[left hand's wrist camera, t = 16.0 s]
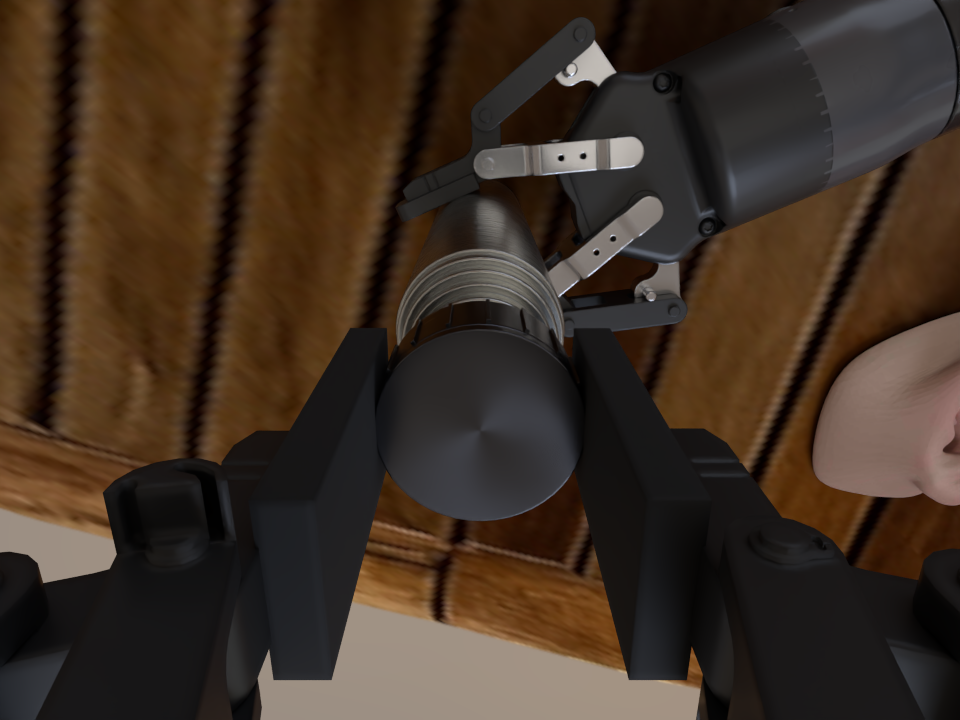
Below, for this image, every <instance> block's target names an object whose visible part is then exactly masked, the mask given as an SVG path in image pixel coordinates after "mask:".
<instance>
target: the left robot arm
mask: <svg viewBox="0 0 960 720" xmlns="http://www.w3.org/2000/svg"><path fill="white" fill-rule="evenodd" d="M572 360H573V363H574V366H575V368H576V371H577V374H578V376H579V379H580V382H581V384H582V385H581V386H579V389H580V392H581V395H582V398H583V401H584V404H585V430H584V445H583V452H582V455H581V457H580V459H579V462H578V464H577V466H576V468H575V469H574V471H575V474H576V478H577V482H578V486H579V490H580V494H581V498H582V501H583V505H584V509H585V513H586V517H587V521H588V524H589V528H590V532H591V536H592V540H593V544H594V548H595V551H596V555H597V559H598V563H599V567H600V571H601V574H602V578H603V582H604V586H605V590H606V594H607V597H608V601H609V605H610V609H611V613H612V617H613V621H614V624H615V628H616V632H617V636H618V640H619V644H620V647H621V651H622V655H623V659H624V663H625V667H626V671H627V674H628V678H629V680H687V675H688V668H689V661H690V654H691V647H692V648H693V650H694V653H695V655H696V658H697V660H698V663H699V666H700V668H701V671H702V673H703V678H702V685H701V691H700V698H699V704H698V711H697V717H696V720H960V549H947V550H941V551H936V552H933V553H932V554H931V555H929V556H928V557H927V558H926V559H925V560H924V562H923V565H922V569H921V572H920V576H919V579H918V580H914V579H909V578H903V577H898V576H893V575H888V574H883V573H878V572H873V571H868V570H864V569H860V568H856V567H852V566H849V564H848V562H847V560H846V558H845V556H844V554H843V553H842V551H841V550H840V549H839V548H838V547H837V545H836V544H835V543H834V542H833V540H831V539H830V538H828V537H827V536H825V535H824V534H822V533H821V532H819V531H818V530H816V529H815V528H812V527H810V526H807V525H805V524H802V523H800V522H797V521H795V520H791V519H786V518H782V517H781V516H780V514H779V513H778V512H777V510H776V509H775V508H774V506H773V505H772V504H771V502H770V501H769V499H768V498H767V497H766V495H765V494H764V493H763V491H762V490H761V489H760V487H759V486H758V485H757V483H756V482H755V480H754V479H753V478H752V477H750V476H749V475H750V474H749V472H748V471H747V470H746V468H745V467H744V466H743V464H742V463H739V459H738V457H737V456H736V455H735V453H734V452H733V451H732V449H731V448H730V447H729V445H728V444H727V443H726V442H724V441H723V440H721V439H720V438H718V437H716V436H715V435H713V434H712V433H710V432H708V431H707V430H705V429H670V428H669V427H668V425H667V423H666V422H665V420H664V418H663V417H662V415H661V413H660V412H659V410H658V408H657V407H656V405H655V403H654V401H653V400H652V398H651V396H650V395H649V393H648V391H647V390H646V388H645V386H644V385H643V383H642V381H641V380H640V378H639V376H638V374H637V373H636V371H635V369H634V368H633V366H632V364H631V363H630V361H629V359H628V358H627V356H626V354H625V353H624V351H623V349H622V347H621V346H620V344H619V342H618V341H617V339H616V337H615V336H614V334H613V332H612V331H611V329H610V328H574V333H573V353H572ZM387 365H388V345H387V328H350V330H349V331H348V333H347V335H346V336H345V338H344V340H343V341H342V343H341V345H340V347H339V348H338V350H337V352H336V353H335V355H334V357H333V358H332V360H331V362H330V363H329V365H328V367H327V368H326V370H325V372H324V374H323V375H322V377H321V379H320V380H319V382H318V384H317V385H316V387H315V389H314V390H313V392H312V394H311V395H310V397H309V399H308V401H307V402H306V404H305V406H304V407H303V409H302V411H301V412H300V414H299V416H298V417H297V419H296V421H295V423H294V424H293V426H292V428H291V429H290V431H256V432H254V433H253V434H251V435H249V436H248V437H246V438H245V439H243V440H242V441H240V442H238V443H237V444H235V445H234V446H233V447H232V449H231V450H230V451H229V453H228V454H227V455H226V457H225V458H224V460H223V461H222V465H221V466H220V465H219V464H217V463H216V462H212V461H208V460H204V459H173V460H168V461H162V462H156V463H153V464H150V465H147V466H144V467H141V468H138V469H135V470H133V471H131V472H129V473H127V474H126V475H124V476H122V477H120V478H118V479H117V480H115V481H114V482H113V483H112V484H111V485H110V486H109V487H108V488H107V489H106V490H105V491H104V492H103V496H104V500H105V504H106V509H107V513H108V518H109V522H110V526H111V531H112V535H113V539H114V544H115V548H116V553H117V555H116V557H115V559H114V561H113V563H112V565H111V568H110V569H108V570H105V571H101V572H97V573H93V574H88V575H83V576H78V577H73V578H68V579H62V580H57V581H52V582H47V583H43V581H42V578H41V574H40V570H39V567H38V563H37V562H35V561H34V560H33V559H32V558H31V557H29V556H28V555H25V554H19V553H14V552H1V553H0V720H260V717H261V709H262V706H261V699H260V691H259V685H258V675H259V673H260V670H261V668H262V665H263V663H264V660H265V658H266V655H267V652H268V650H269V651H270V658H271V665H272V672H273V679H274V680H332V676H333V672H334V668H335V665H336V661H337V657H338V653H339V649H340V645H341V641H342V638H343V634H344V630H345V626H346V622H347V618H348V615H349V611H350V606H351V603H352V599H353V595H354V591H355V588H356V584H357V580H358V576H359V572H360V568H361V565H362V561H363V557H364V553H365V549H366V545H367V541H368V538H369V534H370V530H371V526H372V522H373V518H374V515H375V511H376V507H377V503H378V499H379V495H380V491H381V488H382V484H383V480H384V476H385V472H386V468H385V467H384V464H383V462H382V460H381V458H380V456H379V453H378V449H377V439H376V423H375V407H376V403H377V400H378V397H379V393H380V390H381V388H382V385H383V382H384V379H385V376H386V374H387V373H386V372H385V371H386V368H387Z"/></svg>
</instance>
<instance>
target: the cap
mask: <svg viewBox="0 0 960 720" xmlns="http://www.w3.org/2000/svg"><path fill="white" fill-rule="evenodd" d="M385 372H386V373H387V374H386V376H385V379H384V382H383V385H382V388H381V390H380V393H379V397H378V400H377V403H376V407H375V423H376V439H377V449H378V453H379V456H380V458H381V460H382V462H383V464H384V467H385V468H386V470H387V472H388V473H389V475H390V476H391V478H392V479H393V480H394V481H395V483H396V484H397V485H398V486H399V487H400V488H401V489H402V490H403V491H404V492H405V493H406V494H407V495H408V496H409V497H411V498H412V499H414V500H415V501H416V502H418V503H419V504H421V505H423V506H424V507H426V508H428V509H430V510H432V511H435V512H437V513H440V514H442V515H445V516H449V517H453V518H456V519H463V520H470V521H489V520H498V519H504V518H509V517H512V516H515V515H518V514H521V513H524V512H526V511H528V510H531V509H533V508H534V507H536V506H538V505H540V504H541V503H543V502H544V501H546V500H547V499H548V498H550V497H551V496H552V495H554V494H555V493H556V492H557V491H558V490H559V489H560V488H561V487H562V486H563V485H564V483H565V482H566V481H567V480H568V478H569V477H570V476H571V474H572V473H573V471H574V469H575V468H576V466H577V464H578V462H579V459H580V457H581V455H582V452H583V445H584V430H585V404H584V401H583V398H582V395H581V392H580V389H579V386H581V385H582V384H581V382H580V379H579V376H578V374H577V371H576V368H575V366H574V363H573V360H572V357H568V356H567V354H566V352H565V350H564V348H563V346H562V344H561V343H560V341H559V340H558V338H557V337H556V334H555V331H554V329H553V328H551V329H549V328H548V327H547V326H546V325H545V324H543V323H542V322H541V321H540V320H538V319H537V318H535V317H534V316H532V315H531V314H529V313H527V312H526V309H524V308H521V309H519V308H516V307H513V306H510V305H507V304H503V303H497V302H492V301H490V299H486V301H471V302H463V303H458V304H453V303H449V305H448V307H445V308H442V309H440V310H438V311H436V312H434V313H432V314H430V315H428V316H427V317H425V318H424V319H422V320H420V319H418V320H417V321H416V324H415V326H414V327H413V328H412V329H411V330H410V331H409V332H408V333H407V334H406V335H405V337H404V338H403V339H402V341H401V342H400V344H399V345H395V346H394V348H393V351H392V354H391V357H390V360H389V362H388V365H387V368H386V371H385Z"/></svg>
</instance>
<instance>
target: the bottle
mask: <svg viewBox="0 0 960 720" xmlns="http://www.w3.org/2000/svg"><path fill="white" fill-rule="evenodd" d="M486 299H490V301H492V302H497V303H503V304H507V305H510V306H513V307H516V308H519V309H521V308H524V309H526V312H527V313H529V314H531V315H532V316H534V317H535V318H537V319H538V320H540V321H541V322H542V323H543V324H545V325H546V326H547V327H548V328H549V329H551V328H553V329H554V331H555V334H556V337H557V338H558V340H559V341H560V343H561V344H562V346H563V343H564V334H565V321H564V315H563V310H562V307H561V303H560V300H559V298H558V296H557V293H556V291H555V288H554V286H553V283H552V281H551V279H550V276H549V274H548V271H547V269H546V267H545V264H544V262H543V259H542V257H541V255H540V252H539V250H538V247H537V245H536V242H535V240H534V238H533V235H532V233H531V230H530V228H529V226H528V223H527V221H526V218H525V216H524V214H523V211H522V209H521V206H520V204H519V202H518V200H517V198H516V196H515V195H514V193H513V192H512V191H511V190H510V189H509V188H508V187H507V186H506V185H504V184H503V183H501V182H499V181H497V180H495V179H487V180H485V181H483V182H481V183H480V189H478V190H475V191H473V192H471V193H469V194H466V195H464V196H461V197H459V198H457V199H455V200H453V201H451V202H448V203H446V204H444V205H441V206H440V207H439V210H438V212H437V215H436V217H435V219H434V222H433V224H432V227H431V229H430V232H429V234H428V236H427V239H426V241H425V244H424V246H423V248H422V251H421V253H420V256H419V258H418V261H417V263H416V265H415V268H414V270H413V273H412V275H411V278H410V280H409V282H408V285H407V287H406V290H405V292H404V294H403V297H402V299H401V302H400V305H399V308H398V312H397V319H396V338H397V345H399V344H400V342H401V341H402V339H403V338H404V337H405V335H406V334H407V333H408V332H409V331H410V330H411V329H412V328H413V327H414V326H415V324H416V321H417V320H418V319H420V320H422V319H424V318H425V317H427V316H428V315H430V314H432V313H434V312H436V311H438V310H440V309H442V308H445V307H448V305H449V303H453V304H458V303H463V302H471V301H486Z"/></svg>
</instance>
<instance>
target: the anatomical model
mask: <svg viewBox="0 0 960 720" xmlns="http://www.w3.org/2000/svg"><path fill="white" fill-rule="evenodd" d="M812 458H813V469H814V472H815V474H816V476H817V478H818V479H819V480H820V481H821V482H823V483H824V484H826V485H828V486H830V487H833V488H836V489H840V490H843V491H848V492H853V493H858V494H863V495H869V496H878V497H911V496H915V495H918V494H921V493H924V494H926V495H927V496H929V497H930V498H932V499H933V500H935V501H937V502H939V503H942V504H945V505H959V504H960V312H958V313H955V314H952V315H948V316H945V317H942V318H939V319H936V320H933V321H930V322H928V323H925V324H923V325H920V326H918V327H915V328H912V329H910V330H907V331H905V332H903V333H900V334H898V335H896V336H894V337H891V338H889V339H887V340H885V341H883V342H881V343H879V344H877V345H875V346H873V347H871V348H870V349H868V350H867V351H865V352H863V353H862V354H860V355H859V356H858V357H856V358H855V359H854V360H853V361H851V362H850V363H849V364H848V365H847V366H846V367H845V368H844V369H843V371H842V372H841V373H840V374H839V376H838V377H837V378H836V380H835V382H834V383H833V385H832V387H831V389H830V391H829V393H828V395H827V397H826V399H825V402H824V405H823V408H822V410H821V413H820V417H819V421H818V425H817V429H816V434H815V439H814V445H813V457H812Z"/></svg>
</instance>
